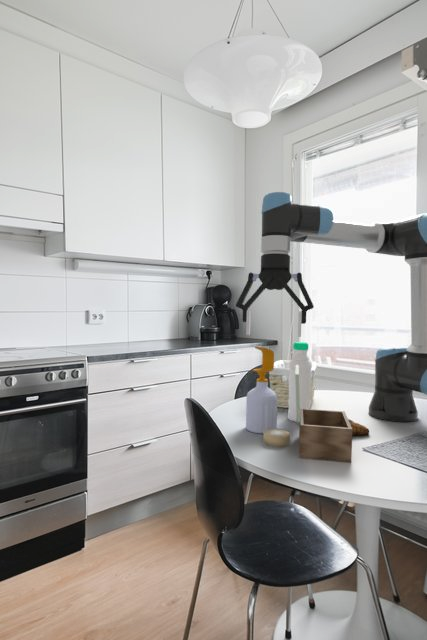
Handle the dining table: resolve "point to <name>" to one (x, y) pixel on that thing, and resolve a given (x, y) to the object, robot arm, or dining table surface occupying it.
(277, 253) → the robot arm
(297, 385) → the lid
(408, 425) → the dining table surface
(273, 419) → the soap bottle
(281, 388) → the storage basket
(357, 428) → the croissant
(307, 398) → the water bottle
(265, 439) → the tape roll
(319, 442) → the box
